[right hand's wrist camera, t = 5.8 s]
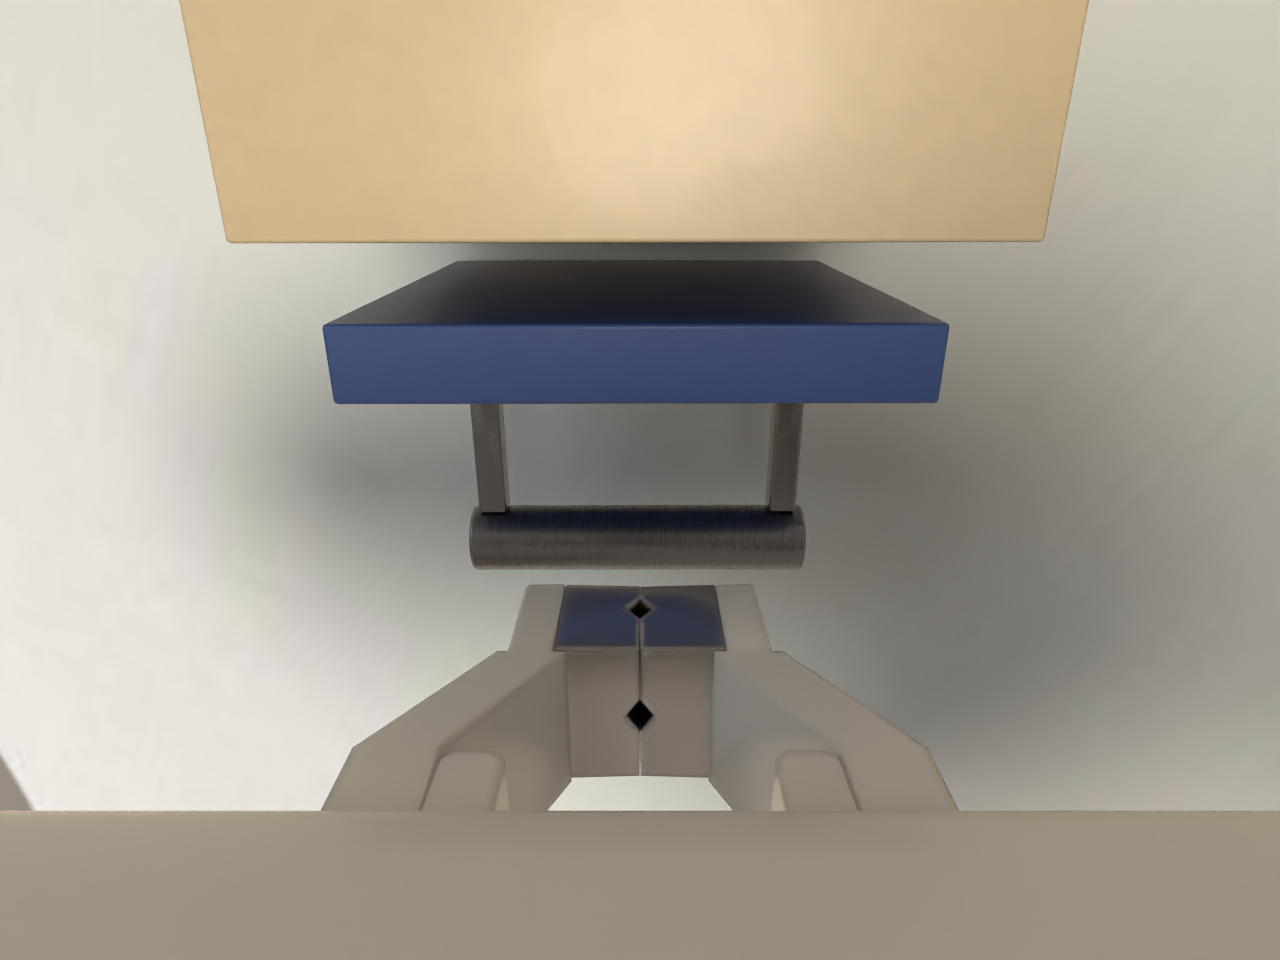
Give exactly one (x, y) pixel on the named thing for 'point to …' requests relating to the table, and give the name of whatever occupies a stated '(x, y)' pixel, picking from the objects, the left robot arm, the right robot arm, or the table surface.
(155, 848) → the right robot arm
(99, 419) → the table surface
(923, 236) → the cabinet
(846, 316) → the drawer
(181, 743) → the table surface
